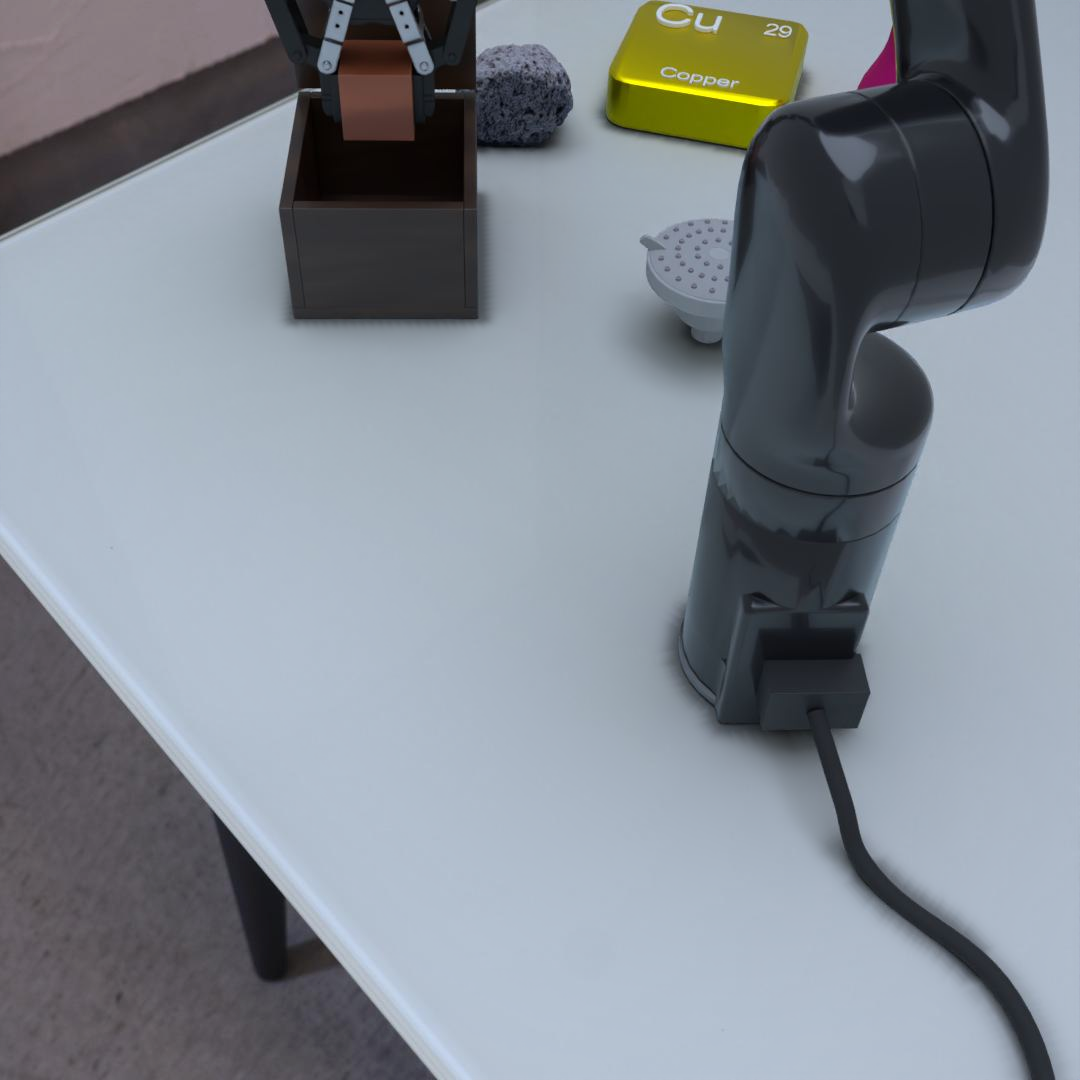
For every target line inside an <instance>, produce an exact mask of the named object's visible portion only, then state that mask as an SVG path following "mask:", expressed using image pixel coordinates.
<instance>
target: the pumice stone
mask: <svg viewBox="0 0 1080 1080" xmlns="http://www.w3.org/2000/svg"><path fill="white" fill-rule="evenodd" d="M454 92H459V93H476V94H477V145H483V146H486V147H496V146H497V147H498V146H502V147H503V146H504V147H508V146H514V147H516V146H517V147H526V148H527V147H528V148H529V147H534V146H537V145H539V144H541V143H542V141H545V140H546V139H548V138H549V136H550V134H553V133H554V131H555V129H556V127H561V126H563V124H564V122H565V120H566V118H567V117H568V114H570V112H571V111H572V110H573V109H574V96H573V93H572V83H571V79H570V76H569V74H568V73H567V70H566V69H565V68H564V66H563V65H562V62H559V61H558V59H557V58H556V56H555V55H554V54H553V53H552V52H551V51H549V50H548V48H547V47H545V46H544V45H542V44H537V43H532V44H530V43H526V44H522V45H517V44H514V43H512V44H501V45H496V46H494V47H491V48H490V47H487V48H485V49H484V50H483V51H481V53H480V54H479V55H478V56H476V90H455V91H454Z"/></svg>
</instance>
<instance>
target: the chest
mask: <svg viewBox="0 0 1080 1080" xmlns="http://www.w3.org/2000/svg"><path fill="white" fill-rule="evenodd" d="M278 213H279V220H280V228H281V229H280V230H281V235H282V243H283V250H284V251H283V252H284V257H285V264H286V272H287V278H288V284H289V285H288V286H289V292H290V301H291V307H292V315H293V319H478V318H479V254H478V253H479V240H478V239H479V237H478V233H479V232H478V230H479V229H478V228H479V225H478V223H479V222H478V216H479V215H478V143H477V94H476V93H459V92H455V91H454V92H446V91H445V92H443V91H441V92H440V91H435V110H434V113H433V115H432V117H425V125H415V138H414V141H365V140H344V137H343V126H342V125H335V124H334V116H326V114H325V112H324V110H323V105H322V95H321V90H320V91H319V90H317V91H315V90H313V91H304V90H303V91H302V90H301V91H300V90H299V91H298V93H297V99H296V105H295V112H294V117H293V123H292V129H291V134H290V140H289V145H288V151H287V157H286V164H285V170H284V175H283V181H282V187H281V194H280V199H279V205H278Z"/></svg>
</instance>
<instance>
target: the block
mask: <svg viewBox="0 0 1080 1080" xmlns="http://www.w3.org/2000/svg"><path fill="white" fill-rule="evenodd" d="M412 73H413V62H412V59H411V57H410V54H409V52H408V49H407V47H406V45H404V44H403V41H402V40H344V43H343V45H342V49H341V56H340V64H339V71H338V82H339V93H340V104H341V115H342V126H343V137H344V140H365V141H414V138H415V123H414V101H413V80H412Z"/></svg>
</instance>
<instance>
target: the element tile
mask: <svg viewBox="0 0 1080 1080" xmlns="http://www.w3.org/2000/svg"><path fill="white" fill-rule="evenodd" d="M808 42H809V31H808V30H807V28H806V27H805V26H804V24H802V23H800V22H797V21H792V20H787V19H781V18H780V19H779V18H774V17H769V16H762V15H755V14H750V13H749V14H748V13H742V12H736V11H731V10H730V11H729V10H724V9H717V8H709V7H704V6H698V5H691V4H684V3H678V2H671V1H665V0H649V1H647V2H645V3H644V4H642V5H641V6H639V7H638V8H637V10H636V13H635V14H634V16H633V19H632V21H631V23H630V24H629V27H628V29H627V31H626V33H625V35H624V37H623V39H622V40H621V43H620V45H619V47H618V49H617V51H616V53H615V56H613V59H612V61H611V63H610V65H609V67H608V74H607V87H606V101H605V114H606V117H607V119H608V120H609V122H611V123H612V124H614V125H616V126H618V127H621V128H625V129H629V130H636V131H642V132H648V133H654V134H658V135H664V136H671V137H675V138H682V139H689V140H693V141H700V142H706V143H710V144H718V145H722V146H729V147H734V148H740V149H746V150H747V149H748V146H749V144H750V142H751V140H752V138H753V136H754V134H755V132H756V130H757V129H758V127H759V126H760V124H761V123H762V122H763V120H764V119H765V118H766V117H767V116H768V115H769V114H770V113H771V112H773V111H774V110H776V109H777V108H779V107H780V106H783V105H786V104H789V103H791V102H794V101H795V98H796V95H797V91H798V88H799V84H800V81H801V78H802V73H803V69H804V63H805V57H806V52H807V48H808V47H807V46H808Z"/></svg>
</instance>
